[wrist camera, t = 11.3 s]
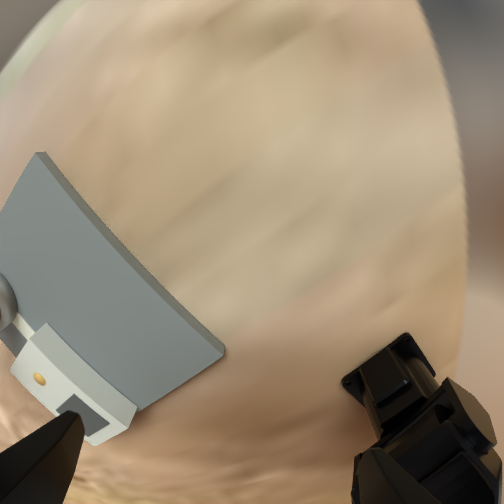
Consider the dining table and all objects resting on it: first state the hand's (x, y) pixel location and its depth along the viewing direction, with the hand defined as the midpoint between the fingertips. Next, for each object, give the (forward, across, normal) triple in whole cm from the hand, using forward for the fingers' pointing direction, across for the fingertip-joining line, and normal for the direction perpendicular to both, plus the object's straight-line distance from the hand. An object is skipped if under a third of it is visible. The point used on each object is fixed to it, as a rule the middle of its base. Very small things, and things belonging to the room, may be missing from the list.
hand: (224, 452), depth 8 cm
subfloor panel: (+13, +13, +6) cm, 19 cm away
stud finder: (+12, +12, +11) cm, 21 cm away
